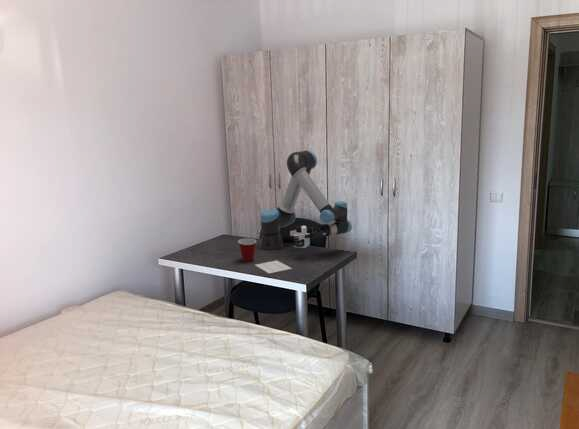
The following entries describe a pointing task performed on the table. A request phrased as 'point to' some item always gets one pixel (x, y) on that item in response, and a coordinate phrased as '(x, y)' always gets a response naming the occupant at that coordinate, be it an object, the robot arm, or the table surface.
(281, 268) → the paper
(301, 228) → the white blocky tower
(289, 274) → the table surface
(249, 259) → the plastic cup
